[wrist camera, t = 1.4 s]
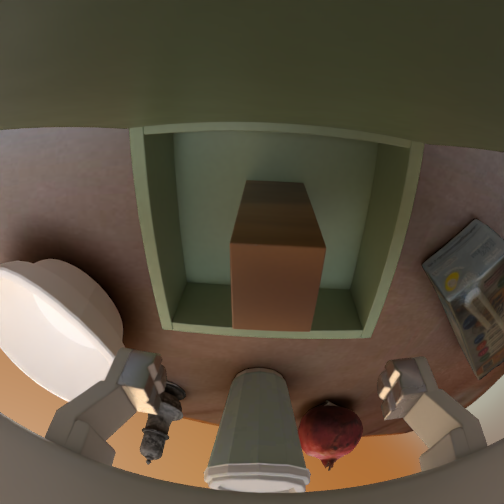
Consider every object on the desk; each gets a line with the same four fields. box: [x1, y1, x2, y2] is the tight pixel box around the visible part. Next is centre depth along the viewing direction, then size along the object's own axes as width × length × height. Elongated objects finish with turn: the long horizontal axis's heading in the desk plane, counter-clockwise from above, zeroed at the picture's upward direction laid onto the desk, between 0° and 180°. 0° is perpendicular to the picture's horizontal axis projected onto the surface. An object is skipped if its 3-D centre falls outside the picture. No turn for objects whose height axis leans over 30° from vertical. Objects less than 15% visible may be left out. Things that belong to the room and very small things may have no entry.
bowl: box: [0, 259, 125, 402], centre depth 25 cm, size 21×21×8 cm
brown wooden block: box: [229, 180, 326, 332], centre depth 17 cm, size 5×4×9 cm
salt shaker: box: [140, 381, 186, 464], centre depth 31 cm, size 6×6×12 cm
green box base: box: [129, 122, 425, 339], centre depth 19 cm, size 15×16×6 cm
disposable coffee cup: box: [204, 368, 311, 493], centre depth 26 cm, size 11×11×15 cm
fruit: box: [298, 400, 363, 470], centre depth 32 cm, size 9×10×10 cm
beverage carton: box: [422, 219, 504, 380], centre depth 22 cm, size 8×19×7 cm, turn 44°
